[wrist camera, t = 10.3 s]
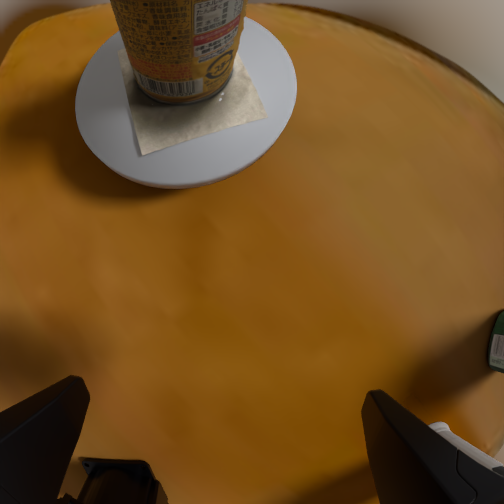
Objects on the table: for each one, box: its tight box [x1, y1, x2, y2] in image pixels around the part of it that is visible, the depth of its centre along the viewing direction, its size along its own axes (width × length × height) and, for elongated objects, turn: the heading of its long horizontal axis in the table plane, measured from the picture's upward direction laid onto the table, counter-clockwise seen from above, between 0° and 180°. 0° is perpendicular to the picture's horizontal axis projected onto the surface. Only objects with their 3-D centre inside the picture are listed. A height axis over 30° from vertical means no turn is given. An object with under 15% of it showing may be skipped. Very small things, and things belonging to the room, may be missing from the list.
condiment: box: [110, 0, 268, 155], centre depth 9 cm, size 7×8×12 cm
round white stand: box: [75, 17, 297, 189], centre depth 17 cm, size 14×14×4 cm
